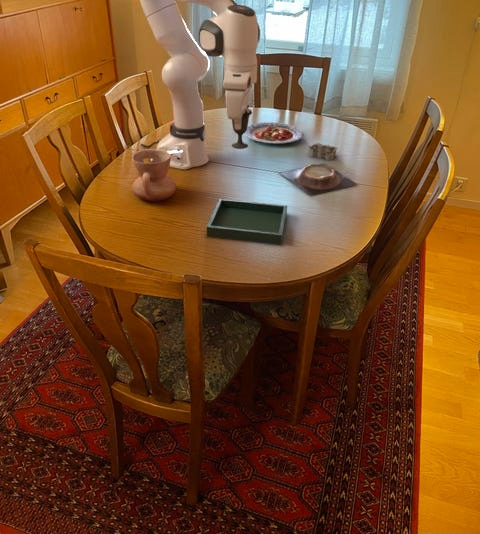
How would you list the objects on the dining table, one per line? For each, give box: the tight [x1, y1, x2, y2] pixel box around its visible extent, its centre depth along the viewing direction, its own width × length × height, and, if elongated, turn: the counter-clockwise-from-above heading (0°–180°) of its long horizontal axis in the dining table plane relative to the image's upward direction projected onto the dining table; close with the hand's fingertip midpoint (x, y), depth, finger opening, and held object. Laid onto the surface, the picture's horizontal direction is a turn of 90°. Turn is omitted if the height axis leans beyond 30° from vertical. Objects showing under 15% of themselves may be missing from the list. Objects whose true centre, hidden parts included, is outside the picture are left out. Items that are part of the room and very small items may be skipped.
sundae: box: [231, 104, 253, 150], centre depth 130 cm, size 7×7×15 cm
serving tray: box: [206, 198, 288, 246], centre depth 139 cm, size 22×18×3 cm
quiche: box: [280, 162, 357, 196], centre depth 166 cm, size 21×20×4 cm
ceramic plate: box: [244, 121, 304, 145], centre depth 200 cm, size 26×26×3 cm
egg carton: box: [308, 142, 338, 161], centre depth 184 cm, size 11×8×4 cm
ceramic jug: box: [131, 148, 177, 202], centre depth 149 cm, size 18×14×14 cm
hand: (240, 125), depth 131 cm, fingers closed on sundae, 5 cm apart
